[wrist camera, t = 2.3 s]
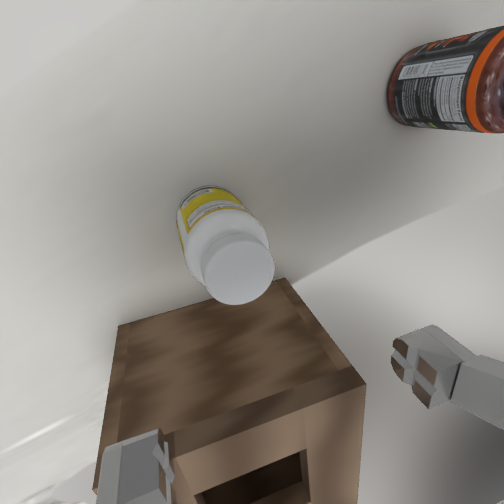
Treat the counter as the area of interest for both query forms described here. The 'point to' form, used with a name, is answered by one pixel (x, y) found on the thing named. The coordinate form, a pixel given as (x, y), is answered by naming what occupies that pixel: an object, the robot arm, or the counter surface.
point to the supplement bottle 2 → (452, 84)
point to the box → (241, 401)
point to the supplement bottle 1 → (224, 246)
